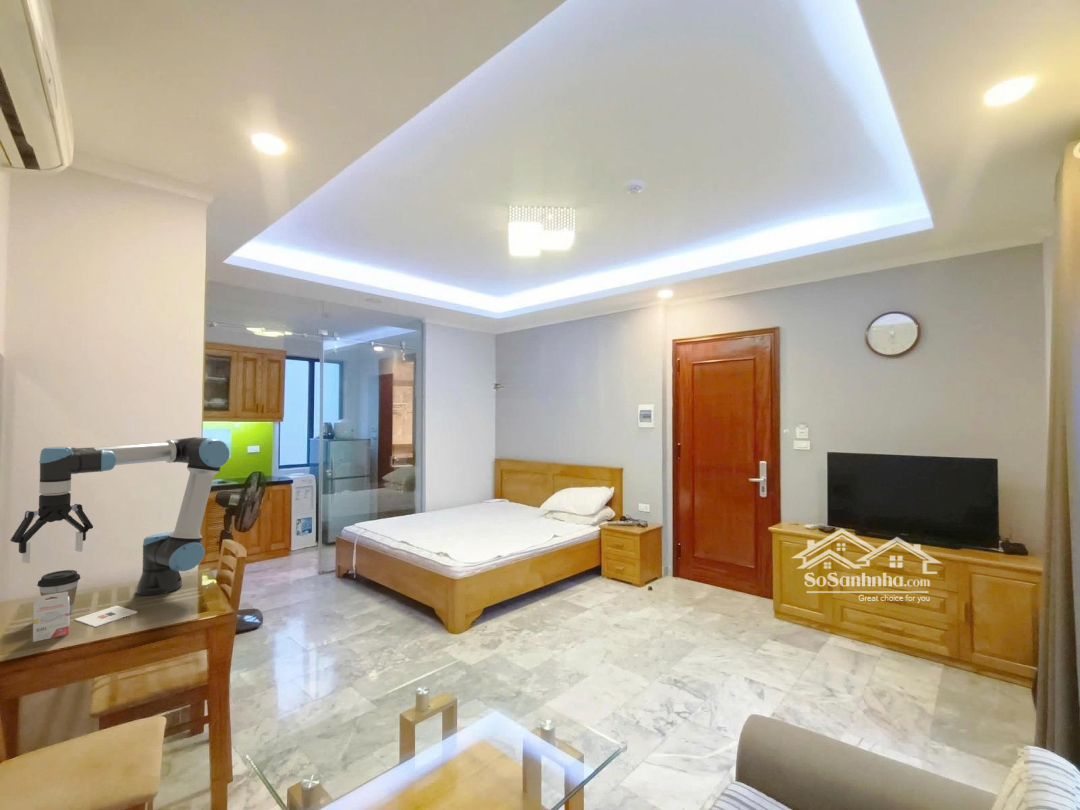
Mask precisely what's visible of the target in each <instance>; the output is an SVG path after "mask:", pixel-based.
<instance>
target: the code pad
mask: <svg viewBox="0 0 1080 810" xmlns="http://www.w3.org/2000/svg"><path fill="white" fill-rule="evenodd" d="M138 613H139V612H138V611H137V610H136V611H135V610H132V609H129V608H126V607H123V606H120V605H115V606H111V607H108V608H104V609H101V610H98V611H96V612H93V613H89V614H86V615H82V616H79V617H76V618H74V621H76V622H79V623H82V624H85V625H87V626H90V627H94V628H98V627H100V625H101V626H103V624H104V625H106V624H109V623H112V622H115V621H118V620H120V619H124V618H126V616H127V617H129V616H133V615H135V614H138ZM123 617H124V618H123Z"/></svg>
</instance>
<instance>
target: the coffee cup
mask: <svg viewBox="0 0 1080 810" xmlns="http://www.w3.org/2000/svg"><path fill="white" fill-rule="evenodd" d="M79 580H81V574H79V573H78V571H77V570H73V569H66V570H58V571H53V572H50V573H49V572H48V573H46V574H44V575H42V576H41V579H39V580H38V582H37V585H36V586H37V587H38V588H39V593H40V596H44V595H49V594H55V593H62V592H68V596H69V616H70V615H71V614H72V613H73V610H74V606H75V599H76V595H77V588H78V584H79ZM51 599H57V597H50V598H47V599H45V600H51Z"/></svg>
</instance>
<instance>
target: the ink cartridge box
mask: <svg viewBox="0 0 1080 810" xmlns="http://www.w3.org/2000/svg"><path fill="white" fill-rule="evenodd" d="M50 597H57V599H51V600H45V599H47V598H50ZM33 602H34V603H33V607H32V613H33V614H32V642H33V643H35V642H39V641H44V639H45V640H48V639H54V638H58V637H62V636H67V635H69V632H70V615H69V596H68V592H62V593H55V594H49V595H44V596H41V595H39V596H35V597H33Z"/></svg>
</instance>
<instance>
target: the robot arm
mask: <svg viewBox="0 0 1080 810" xmlns="http://www.w3.org/2000/svg"><path fill="white" fill-rule="evenodd" d="M229 459H230V449H229V447H228V445H227V444H226V443H225V441H222V440H220V439H215V438H213V437H212V438H211V437H210V438H207V437H199V436H198V437H197V436H196V437H194V436H193V437H187V438H178V439H169V440H166V441H165V442H158V443H142V444H140V443H139V444H125V445H124V444H122V445H111V446H110V445H109V446H95V447H94V446H93V447H92V446H91V447H79V448H78V447H71V446H51V447H48V446H47V447H44V448H43V449H41V451H40V456H39V461H38V463H39V486H38V487H39V492H38V493H39V494H40V495H38V510H33V511H32V510H26V511H25V512H24V518H23V519H22V521H21V522H20V524H19V526H18V527H17V529H16V530H15V532H14V534H13V535H12V537H11V538H10V542H12V543H16V544H18V552H19V554H22V558H21V559H22V560H21V562H22V563H23V564H30V562H31V561H30V560H31V542H29V540H30V539H31V538H32V537H34V535H35V534H36V533H37V532H38V531H39V530H40V529H41V528H42V527H43V526H44V525H46V524H47V523H53V522H56V521H57V522H61V521H63V520H65V521H66V522H68V524H70V525H71V526H73V527H74V528H75V529H76V530H78V531H76V532H75V546H74V547H75V550H74V551H76V552H79V553H80V552H83V547H84V546H83V544H84V542H86V540H87V533H88V531H89V530H92V529H93V528H94V525H93V524H92V523H91V520H90V519H89V518H88V516H87V514H85V512H84V509H83V505H82V504H79V503H74V505H71V494H72V493H70V492H71V491H72V475H77V474H86V473H98V472H99V473H102V472H107V471H112V470H113V469H114V468H115V466H119V465H121V466H122V465H133V464H144V463H154V462H165V463H169V464H172V463H183V464H187V466H186V469H187V471H188V472H189V476H188V479H187V483H186V487H185V490H184V494H183V497H182V502H181V504H180V509H179V513H178V516H177V520H176V523H175V526H174V530H173V531H169V532H160V533H155V534H151V535H147V536H146V537H145V538H143V543H142V572H141V576H140V578H139V580H138V583H137V585H136V594H137V595H138V596H139V595H140V596H156V595H163V594H167V593H170V592H173V591H176V590H178V589H180V588H181V587H182V585H183V578H182V576H181V574H180V572H188V571H190V570H193V569H195V568H196V567H197V566H198V565H199V564H200V563H201V562H202V560H203V559H204V556H205V552H206V551H205V547H204V546H203V544H202V541H203V535H202V534H201V533H200V530H201V527H202V525H203V521H204V516H205V512H206V508H207V504H208V500H209V497H210V493H211V489H212V485H213V481H214V476H216V474H218V473H219V472H221V471H220V470H221V467H222V466H224V464H226V463H227V462H228V461H229ZM71 511H72V512H74V514H76V515H77V517H78V519H79V521H80V522H81V523H82V524H81V523H80V522H78V521H77V520H76V519H75V518H73V516H71V515H70V514H69V513H70V512H71ZM37 516H38V518H37V519H36V520H35V522H34V524H32V522H33V521H34V519H35V518H36V517H37ZM31 524H32V526H31ZM29 526H30V527H29ZM28 528H29V529H28Z"/></svg>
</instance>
